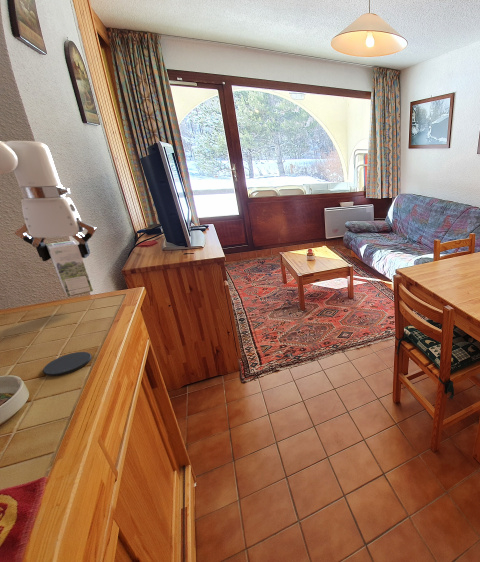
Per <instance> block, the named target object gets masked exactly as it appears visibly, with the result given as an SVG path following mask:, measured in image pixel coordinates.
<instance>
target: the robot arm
mask: <svg viewBox="0 0 480 562" xmlns="http://www.w3.org/2000/svg"><path fill="white" fill-rule="evenodd" d="M12 172H13V174H14V176H15V179H16V182H17V184H18V187H19V189H20V192H21V195H22V197H23V198H22V199H21V200H20V201H21V203H20V204H21V209H22V216H23V219H24V224H23V225H21V226H20V227H19V228H17V229H16V230H15V231H14V232H13V234H14V235H15V236H17V237H19V238H20V239H22V240H23V241H24V242H25V243H28V244H30V245H31V246H32V247H34V248H35V249H36V252H37V254H38V256H39V258H40V259H42V262H47V261H49V260H50V259H51V257H50V254H49V251H48V249H47V246H46V243H45V240H46V239H48V238H63V237H71V238H73V240H75V241H76V242H77V243H78V244H77V245H78V248H79V250H80V253H81V256H82V258H83V259H87V257H88V258H89V256H90V254H91V249H90V246H89V244H88V242H89V241H90V239H91V238H92V237H93V236H94V234H95V232H96V231H97V227H96V226H94V225H92V224H91V223H87V222H85V221H83V220H82V218H81V216H80V214H79V212H78V210H77V208H76V206H75V204H74V202H73V200H72V199H71V198H70V197H69V196H67V197H66V195H67V194H71V190H70V188H65V187H63V185H62V184H61V181H60V178H59V175H58V172H57V168H56V166H55V163H54V160H53V157H52V154H51V151H50V149H49V147H48V146H47V144H46V143H44V142H41V141H37V140H36V141H34V140H7V141H2V140H0V175H6V174H10V173H12ZM85 230H86V231H87V232H86V233H85V234H83V233H82V232H84V231H85ZM27 232H28V233H29V234H28V233H27Z"/></svg>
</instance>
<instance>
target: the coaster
mask: <svg viewBox="0 0 480 562" xmlns="http://www.w3.org/2000/svg"><path fill="white" fill-rule="evenodd" d="M91 361H92V355H91V353H90V352H87V351H76V352H72V353H67V354H64V355H62V356H60V357H56V358H55V359H53V360H51V361H50V362H48V363H47V364H46V365H44V367H43V369H42V371H43V374H44V375H45V376H48V377H58V376H64V375H67V374H71V373H73V372H76V371H78V370H80V369H82V368H84V367H85V366H87V365H88V364H89V363H90V362H91Z"/></svg>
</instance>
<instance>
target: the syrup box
mask: <svg viewBox="0 0 480 562" xmlns="http://www.w3.org/2000/svg"><path fill="white" fill-rule="evenodd" d="M45 244H46V243H45ZM46 246H47V249H48V251H49V254H50V257H51V258H50V259H51V261H52V265H53V267H54V270H55V272H56V275H57V278H58V281H59V283H60V286H61V288H62V291H63V292H64V293H65V295H66V297H67V298H68V297H69V298H70V297H74V296H77V295H78V296H79V295H82V294H87V293H92V292H94V288H93V285H92V283H91V279H90V276H89V274H88V270H87V268H86V264H85V262H84V258H82V256H81V253H80V250H79V248H78V244H77V242H76V241H74V240H69V241H68V240H67V241H61V242H55V243H54V242H53V243H47V244H46Z"/></svg>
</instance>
